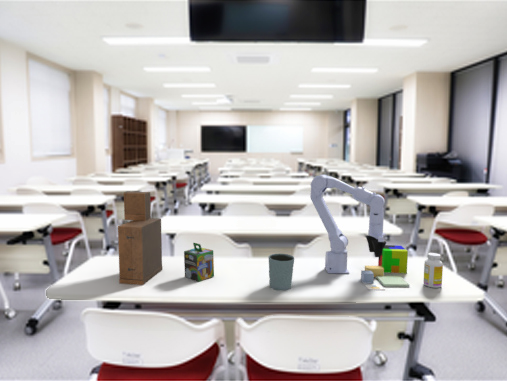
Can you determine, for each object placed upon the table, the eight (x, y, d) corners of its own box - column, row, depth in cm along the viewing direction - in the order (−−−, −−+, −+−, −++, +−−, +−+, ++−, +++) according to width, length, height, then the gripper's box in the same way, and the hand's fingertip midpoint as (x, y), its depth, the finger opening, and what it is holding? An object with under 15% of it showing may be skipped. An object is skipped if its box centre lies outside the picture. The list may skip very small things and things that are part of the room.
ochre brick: (366, 277, 159) (367, 268, 159) (364, 274, 163) (364, 265, 163) (383, 277, 159) (383, 268, 158) (380, 274, 163) (381, 265, 162)
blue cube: (363, 283, 152) (363, 273, 152) (360, 279, 156) (361, 270, 156) (373, 283, 152) (373, 273, 152) (370, 279, 156) (370, 270, 156)
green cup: (268, 281, 153) (268, 253, 151) (292, 282, 152) (293, 253, 151) (268, 291, 143) (268, 260, 141) (294, 291, 142) (295, 261, 141)
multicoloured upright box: (214, 277, 158) (214, 242, 156) (197, 282, 151) (197, 246, 150) (200, 272, 164) (200, 239, 163) (183, 277, 158) (183, 242, 156)
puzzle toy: (400, 266, 174) (401, 245, 173) (406, 273, 164) (407, 251, 163) (378, 265, 175) (379, 244, 174) (383, 272, 165) (384, 250, 164)
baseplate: (384, 286, 148) (384, 284, 148) (376, 278, 158) (376, 275, 158) (409, 286, 148) (409, 284, 148) (399, 278, 158) (399, 276, 158)
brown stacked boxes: (132, 268, 169) (130, 191, 165) (162, 269, 167) (160, 192, 163) (110, 282, 150) (107, 196, 146) (143, 285, 148) (140, 197, 144)
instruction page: (369, 289, 145) (369, 289, 145) (365, 285, 150) (365, 284, 150) (384, 289, 144) (384, 289, 144) (380, 285, 149) (380, 284, 149)
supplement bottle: (443, 285, 150) (445, 254, 149) (439, 289, 145) (441, 257, 144) (425, 281, 154) (427, 251, 153) (421, 285, 149) (422, 254, 148)
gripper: (391, 226, 151) (390, 259, 153) (380, 220, 166) (378, 249, 167) (374, 226, 151) (372, 259, 153) (364, 219, 166) (363, 249, 167)
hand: (374, 254), depth 160 cm, fingers open, 7 cm apart
